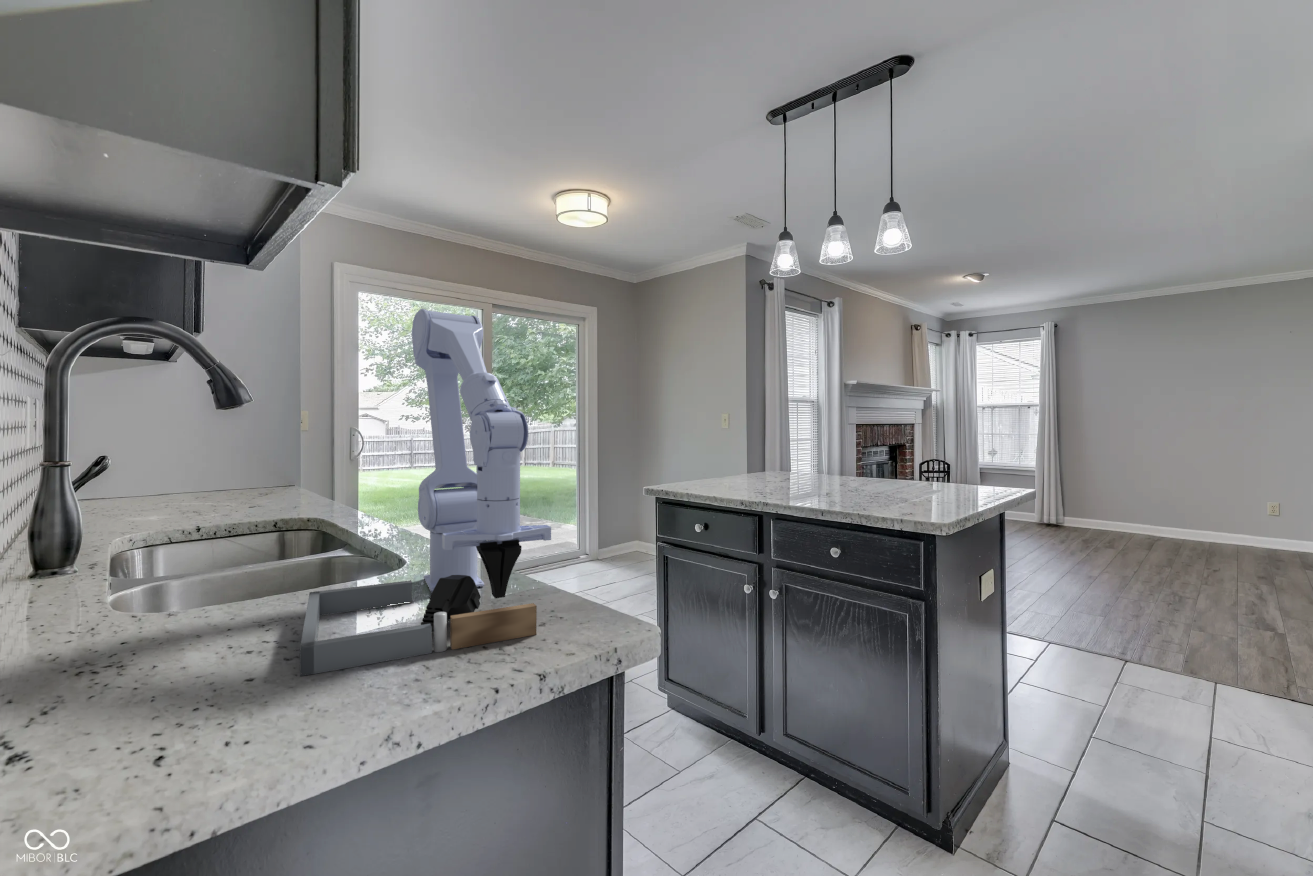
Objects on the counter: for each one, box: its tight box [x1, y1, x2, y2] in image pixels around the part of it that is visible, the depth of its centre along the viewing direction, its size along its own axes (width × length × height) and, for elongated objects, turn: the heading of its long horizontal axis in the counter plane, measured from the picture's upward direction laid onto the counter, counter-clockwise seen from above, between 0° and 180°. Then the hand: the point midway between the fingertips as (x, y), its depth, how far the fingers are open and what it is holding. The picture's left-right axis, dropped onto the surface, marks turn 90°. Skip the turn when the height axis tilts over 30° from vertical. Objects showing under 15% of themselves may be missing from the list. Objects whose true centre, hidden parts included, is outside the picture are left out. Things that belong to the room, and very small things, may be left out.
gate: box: [449, 602, 538, 650], centre depth 69 cm, size 10×1×4 cm, turn 119°
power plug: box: [420, 575, 482, 633], centre depth 72 cm, size 6×8×12 cm
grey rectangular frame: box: [299, 580, 448, 677], centre depth 71 cm, size 21×14×4 cm
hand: (498, 595), depth 79 cm, fingers closed
